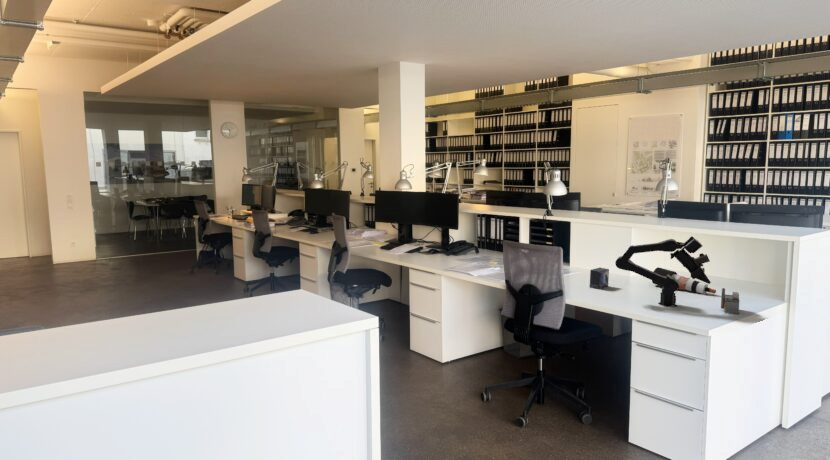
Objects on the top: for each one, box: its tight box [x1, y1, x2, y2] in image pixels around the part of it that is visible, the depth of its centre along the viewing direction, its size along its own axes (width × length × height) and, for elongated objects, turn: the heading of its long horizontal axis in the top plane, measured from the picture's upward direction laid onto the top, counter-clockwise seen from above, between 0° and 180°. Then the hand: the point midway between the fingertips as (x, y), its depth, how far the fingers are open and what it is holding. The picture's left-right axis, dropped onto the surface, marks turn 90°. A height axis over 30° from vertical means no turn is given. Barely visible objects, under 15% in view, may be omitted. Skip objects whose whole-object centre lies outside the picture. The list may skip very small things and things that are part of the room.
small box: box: [589, 267, 610, 290], centre depth 325 cm, size 11×6×10 cm, turn 131°
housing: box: [724, 291, 740, 315], centre depth 271 cm, size 6×10×9 cm, turn 154°
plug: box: [720, 287, 726, 312], centre depth 272 cm, size 6×4×11 cm
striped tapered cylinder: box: [651, 267, 717, 295], centre depth 315 cm, size 10×34×10 cm, turn 38°
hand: (709, 283), depth 275 cm, fingers closed
